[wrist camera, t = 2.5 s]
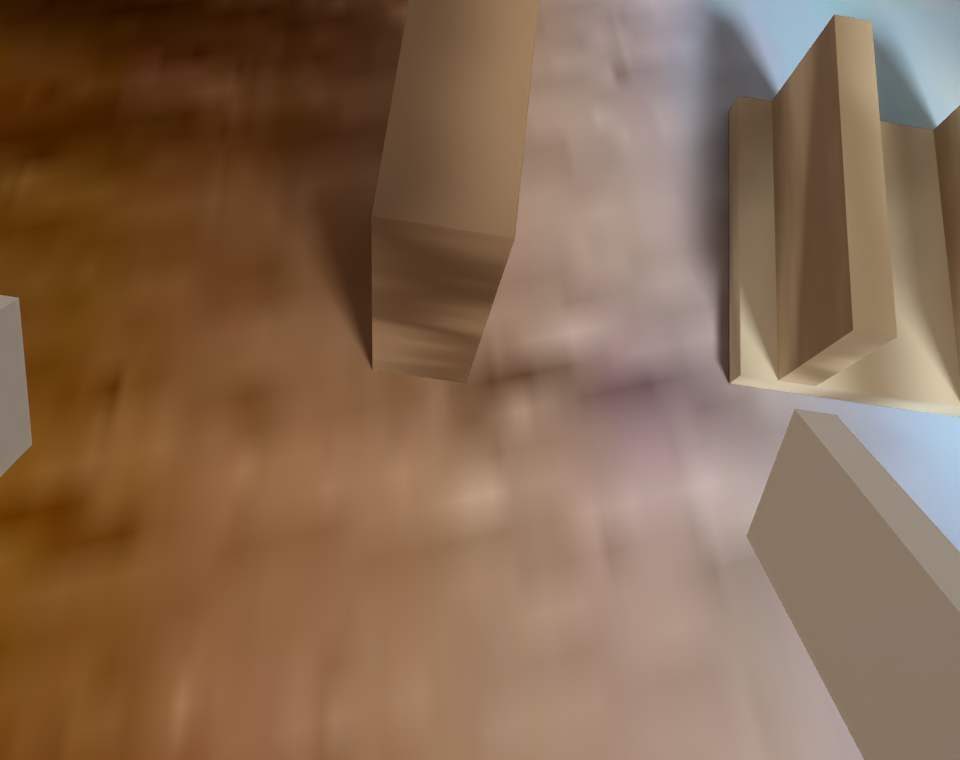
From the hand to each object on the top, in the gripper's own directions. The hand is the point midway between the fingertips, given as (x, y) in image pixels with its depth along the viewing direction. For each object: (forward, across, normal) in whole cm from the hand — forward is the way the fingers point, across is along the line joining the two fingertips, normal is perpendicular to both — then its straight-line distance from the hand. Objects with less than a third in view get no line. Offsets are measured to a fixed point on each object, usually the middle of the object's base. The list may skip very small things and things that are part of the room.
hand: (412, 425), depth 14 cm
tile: (+18, 0, -3) cm, 18 cm away
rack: (+20, +18, 0) cm, 27 cm away
